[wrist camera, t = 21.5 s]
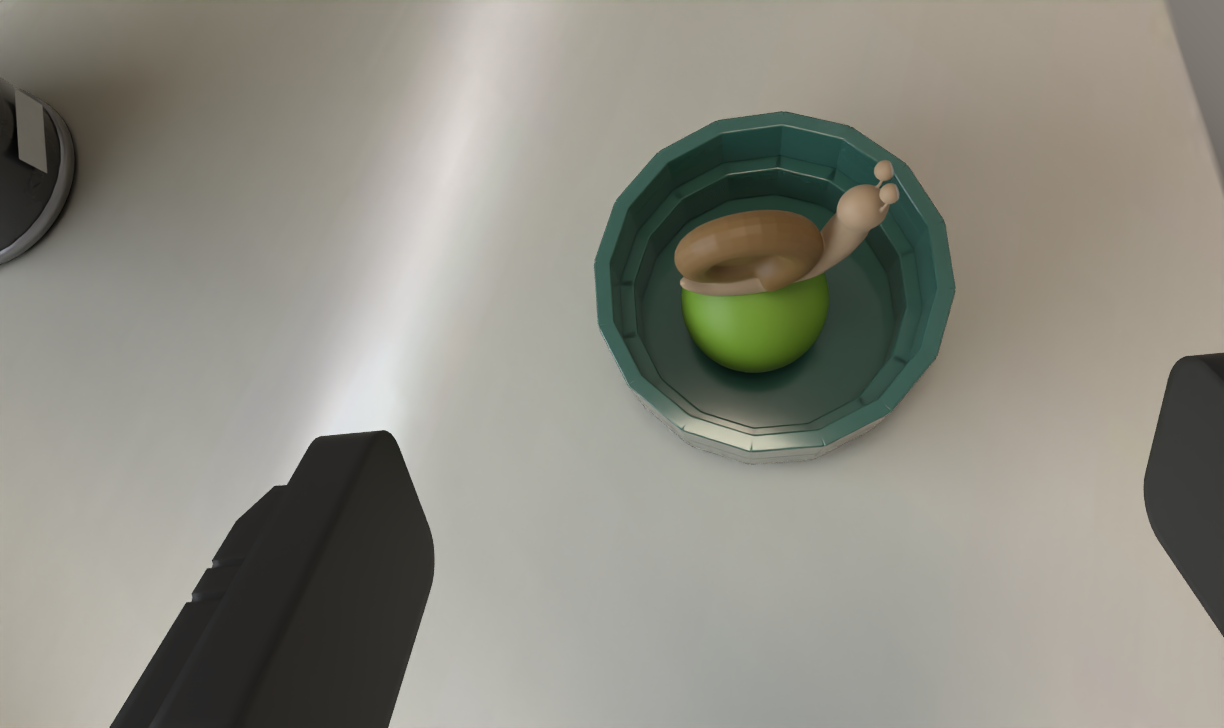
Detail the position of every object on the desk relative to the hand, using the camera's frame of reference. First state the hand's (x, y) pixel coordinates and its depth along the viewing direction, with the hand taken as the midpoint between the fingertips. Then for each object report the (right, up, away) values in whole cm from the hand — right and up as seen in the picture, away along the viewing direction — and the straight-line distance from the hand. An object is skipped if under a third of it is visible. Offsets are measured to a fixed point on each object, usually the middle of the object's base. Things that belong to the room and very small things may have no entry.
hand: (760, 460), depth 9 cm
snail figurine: (+5, +3, +25) cm, 26 cm away
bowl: (+5, +3, +25) cm, 26 cm away
